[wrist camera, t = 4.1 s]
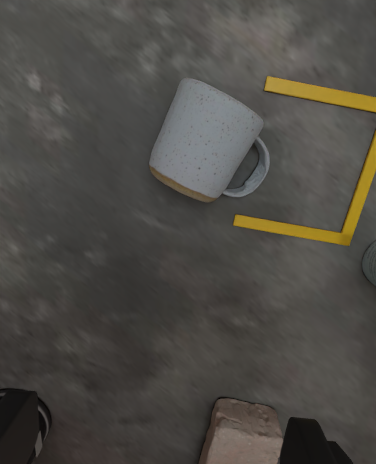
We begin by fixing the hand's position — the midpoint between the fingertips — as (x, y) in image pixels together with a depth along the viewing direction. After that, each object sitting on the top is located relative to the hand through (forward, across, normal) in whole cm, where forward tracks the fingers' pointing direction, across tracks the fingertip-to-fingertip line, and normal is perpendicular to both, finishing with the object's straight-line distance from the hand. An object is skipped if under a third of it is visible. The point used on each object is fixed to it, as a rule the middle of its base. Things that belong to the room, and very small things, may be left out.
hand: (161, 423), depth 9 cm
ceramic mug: (+23, -2, -9) cm, 24 cm away
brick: (+22, -10, +30) cm, 39 cm away
